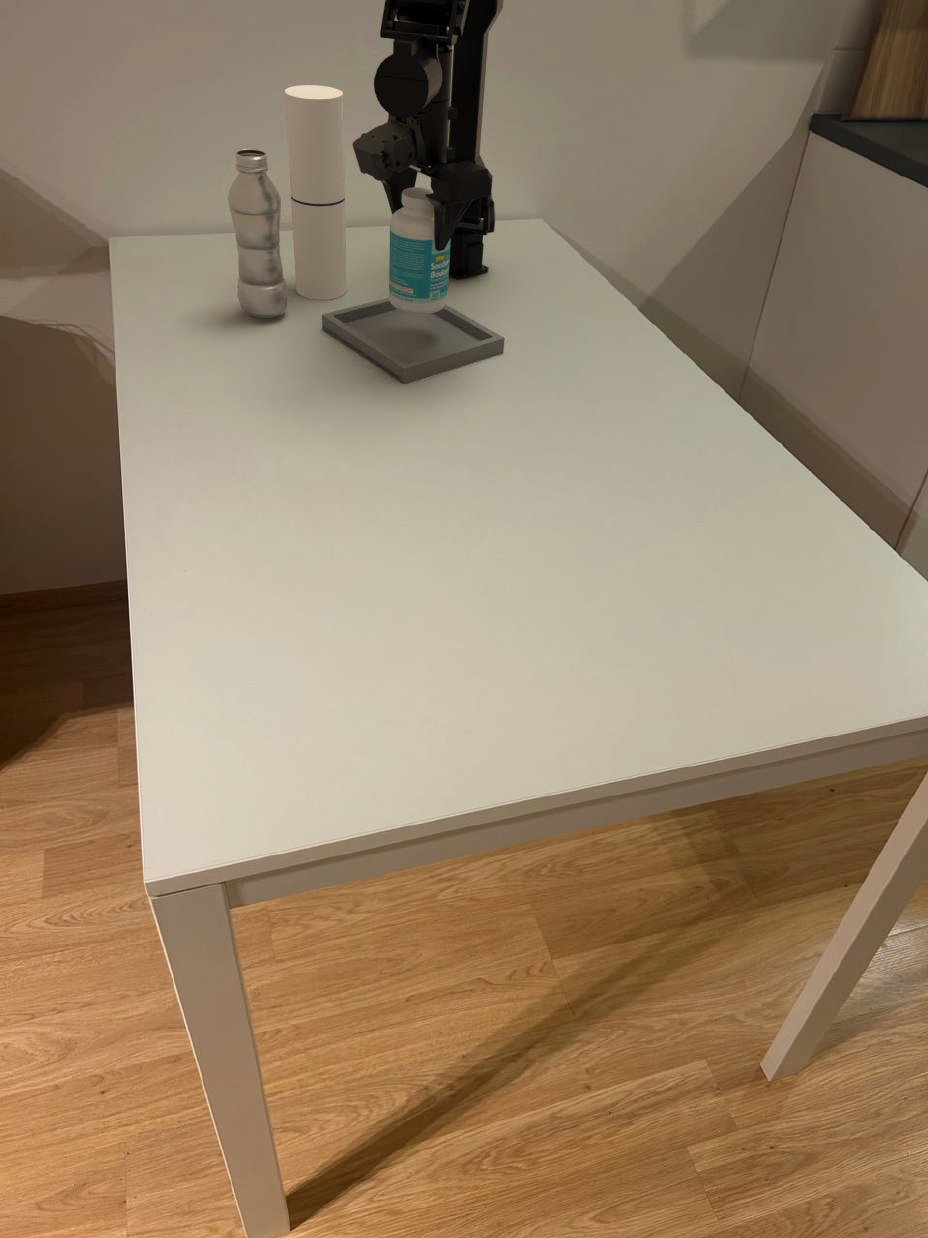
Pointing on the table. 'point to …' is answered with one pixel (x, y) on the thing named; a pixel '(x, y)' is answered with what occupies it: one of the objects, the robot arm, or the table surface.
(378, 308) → the tray
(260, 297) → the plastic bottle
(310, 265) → the cylindrical container
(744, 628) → the table surface
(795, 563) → the table surface
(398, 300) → the pill bottle
